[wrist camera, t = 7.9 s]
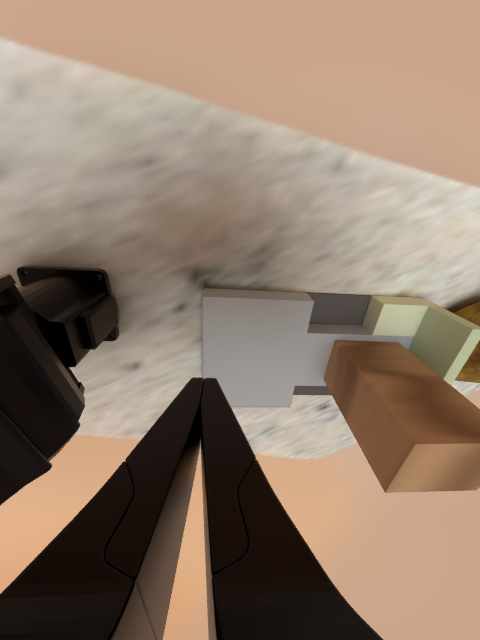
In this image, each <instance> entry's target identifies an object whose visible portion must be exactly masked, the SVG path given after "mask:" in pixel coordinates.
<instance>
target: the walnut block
mask: <svg viewBox="0 0 480 640" xmlns="http://www.w3.org/2000/svg"><path fill="white" fill-rule="evenodd" d="M323 380H324V381H325V383H326V385H327V387H328V389H329V391H330V393H331V394H332V396H333V398H334V400H335V402H336V404H337V405H338V407H339V409H340V411H341V413H342V415H343V416H344V418H345V420H346V422H347V424H348V426H349V427H350V429H351V431H352V433H353V435H354V437H355V438H356V440H357V442H358V444H359V446H360V447H361V449H362V451H363V453H364V455H365V457H366V459H367V460H368V462H369V464H370V466H371V468H372V469H373V471H374V473H375V475H376V477H377V479H378V481H379V482H380V484H381V486H382V488H383V490H384V491H385V493H389V492H427V491H464V490H477V489H478V488H479V487H480V409H479V408H477V407H476V406H475V405H474V404H473V403H471V402H470V401H469V400H468V399H467V398H465V397H464V396H463V395H462V394H460V393H459V392H458V391H457V390H456V389H454V388H453V387H452V386H451V385H450V384H448V383H447V382H446V381H445V380H444V379H442V378H441V377H440V376H439V375H437V374H436V373H435V372H434V371H433V370H431V369H430V368H429V367H428V366H427V365H425V364H424V363H423V362H422V361H421V360H419V359H418V358H417V357H416V356H414V355H413V354H412V353H411V352H410V351H408V350H407V349H406V348H405V347H404V346H402V345H401V344H400V343H399V342H381V341H347V340H335V341H334V345H333V348H332V351H331V355H330V358H329V361H328V365H327V368H326V372H325V375H324V378H323Z"/></svg>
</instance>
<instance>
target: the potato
mask: <svg viewBox="0 0 480 640" xmlns="http://www.w3.org/2000/svg"><path fill="white" fill-rule="evenodd" d="M454 314H456V315H458V316H460V317H462V318H464V319H466V320H468V321H470V322H472V323H474V324H476V325H478V326H480V302H478V303H475V304H472V305H469V306H467V307H464V308H462V309H460V310H458V311H456V312H454ZM455 380H457V381H465V382H475V383H480V340H479V342H478V343H477V345H476V347H475V348H474V350H473V351H472V353H471V355H470V356H469V358H468V359H467V361H466V363H465V364H464V366H463V368H462V369H461V371H460V372H459V374H458V376H457V377H456V379H455Z"/></svg>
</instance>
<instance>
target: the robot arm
mask: <svg viewBox="0 0 480 640" xmlns="http://www.w3.org/2000/svg"><path fill="white" fill-rule="evenodd" d="M24 271H26V272H27V273H28V275H27V274H25V272H24ZM17 274H18V277H19V280H20V282H21V285H22V287H21V288H19V289H17V288H16V286H15V285H14V284H15V283H16V282H15V281H14V279H13V278H12V276H11V275H10V274H7V275H2V276H0V505H1V504H2V503H4V502H5V501H6V500H7V499H9V498H10V497H11V496H12V495H14V494H15V493H16V492H18V491H19V490H20V489H21V488H23V487H24V486H25V485H27V484H28V483H30V482H32V481H33V480H35V479H36V478H38V477H39V476H41V475H43V474H44V473H46V472H47V471H49V470H50V468H51V467H52V464H51V463H50V462H49V460H51V459H52V458H53V457H54V456H55V455H56V454H57V453H59V451H60V450H61V449H62V448H63V447H64V446H65V445H66V444H67V443H68V442H69V440H70V439H71V438H72V437H73V436H74V434H75V433H76V432H77V430H78V429H79V427H80V423H79V421H78V420H79V418H80V416H81V414H82V411H83V409H84V407H85V400H84V396H83V393H84V389H85V388H84V386H83V385H82V383H81V382H78V380H77V379H76V377H75V376H74V374H73V373H72V371H71V370H70V368H69V367H75V366H76V365H77V364H78V363H79V362H80V361H81V360H82V359H83V357H84V356H85V355H86V354H87V353H88V352H89V351H90V350H95V349H96V348H97V347H98V346H99V345H100V344H101V343H102V341H115V340H116V339H117V338H118V336H119V333H118V328H117V324H118V317H117V312H116V306H115V301H114V297H113V296H112V295H111V292H110V287H109V282H108V277H107V274H106V272H105V271H103V270H100V269H82V268H62V267H41V266H22V267H19V268H18V269H17ZM98 274H100V275H101V276H102V279H101V278H99V277H98ZM110 334H112V335H114V337H113V336H111V335H110ZM200 444H201V462H202V487H203V511H204V535H205V556H206V557H205V559H206V581H207V607H208V630H209V640H383V639H382V638H381V637H380V636H379V635H378V634H377V633H376V632H375V631H374V630H373V629H372V628H371V627H370V626H369V625H368V624H367V623H366V622H365V621H364V620H363V619H362V618H361V617H360V616H359V615H358V614H357V613H356V612H355V610H354V609H353V608H352V607H351V606H350V605H349V604H348V603H347V601H346V600H345V599H344V597H343V596H342V595H341V594H340V592H339V591H338V590H337V588H336V587H335V586H334V584H333V583H332V581H331V580H330V579H329V577H328V576H327V574H326V573H325V571H324V570H323V568H322V567H321V565H320V564H319V562H318V560H317V559H316V558H315V556H314V554H313V553H312V551H311V550H310V548H309V547H308V545H307V543H306V542H305V541H304V539H303V538H302V536H301V534H300V533H299V531H298V530H297V528H296V527H295V525H294V523H293V522H292V520H291V519H290V517H289V516H288V514H287V513H286V511H285V509H284V508H283V506H282V504H281V503H280V501H279V499H278V498H277V496H276V495H275V493H274V491H273V489H272V488H271V486H270V484H269V482H268V480H267V478H266V476H265V475H264V473H263V471H262V469H261V467H260V465H259V463H258V461H257V460H256V457H255V455H254V453H253V451H252V449H251V447H250V445H249V443H248V441H247V439H246V437H245V435H244V433H243V431H242V429H241V427H240V425H239V423H238V421H237V419H236V417H235V415H234V413H233V411H232V409H231V407H230V405H229V403H228V401H227V399H226V397H225V395H224V393H223V391H222V389H221V387H220V385H219V382H218V380H217V379H216V378H205V379H204V378H191V379H190V381H189V382H188V383H187V384H186V386H185V387H184V388H183V389H182V391H181V392H180V393H179V394H178V395H177V397H176V398H175V399H174V400H173V402H172V403H171V404H170V405H169V406H168V408H167V409H166V410H165V411H164V413H163V414H162V415H161V416H160V417H159V419H158V420H157V421H156V422H155V424H154V425H153V426H152V427H151V429H150V430H149V431H148V432H147V433H146V435H145V436H144V437H143V438H142V440H141V441H140V442H139V443H138V444H137V446H136V447H135V448H134V449H133V451H132V452H131V453H130V454H129V456H128V457H127V458H126V462H125V461H124V462H123V463H122V464H121V465H120V466H119V468H118V469H117V470H116V471H115V473H114V474H113V475H112V476H111V477H110V479H109V480H108V481H107V482H106V483H105V484H104V486H103V487H102V488H101V489H100V490H99V491H98V493H97V494H96V495H95V496H94V497H93V498H92V499H91V500H90V501H89V502H88V504H87V505H86V506H85V507H84V508H83V509H82V510H81V511H80V512H79V513H78V514H77V516H75V517H74V519H73V520H72V521H71V522H70V523H69V524H68V525H67V526H66V527H65V528H64V529H63V530H62V531H61V532H60V533H59V534H58V535H57V536H56V537H55V538H54V539H53V540H52V541H51V542H50V544H48V546H47V547H46V548H45V549H44V550H43V551H42V552H41V553H40V554H39V555H38V556H37V557H36V558H35V559H34V560H33V561H32V562H31V563H30V564H29V565H28V566H27V567H26V568H25V569H24V570H23V571H22V573H21V574H20V575H19V576H18V577H17V578H16V579H15V580H14V581H13V582H12V583H11V584H10V585H9V586H8V587H7V588H6V589H5V590H4V591H3V592H2V593H1V594H0V640H162V639H163V634H164V629H165V624H166V619H167V614H168V609H169V604H170V598H171V594H172V588H173V583H174V578H175V573H176V568H177V563H178V558H179V553H180V547H181V542H182V537H183V532H184V527H185V522H186V517H187V511H188V507H189V502H190V496H191V491H192V486H193V480H194V476H195V471H196V466H197V461H198V456H199V450H200Z"/></svg>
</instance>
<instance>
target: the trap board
mask: <svg viewBox="0 0 480 640" xmlns="http://www.w3.org/2000/svg"><path fill="white" fill-rule="evenodd" d="M202 332H203V378H204V379H205V378H216V379H217V380H218V382H219V385H220V387H221V389H222V391H223V393H224V395H225V397H226V399H227V401H228V403H229V405H230V407H282V408H290V405H291V401H292V396H293V395H332V394H331V393H330V391H329V389H328V387H327V385H326V383H325V381H324V380H323V378H324V375H325V372H326V368H327V365H328V361H329V358H330V355H331V351H332V348H333V345H334V341H335V340H347V341H381V342H399V343H400V344H401V345H402V346H404V347H405V348H406V349H407V350H408V351H410V352H411V353H412V354H413V355H414V356H416V357H417V358H418V359H419V360H421V361H422V362H423V363H424V364H425V365H427V366H428V367H429V368H430V369H431V370H433V371H434V372H435V373H436V374H437V375H439V376H440V377H441V378H442V379H444V380H445V381H446V382H447V383H448V384H450V385H452V384H453V382H454V380H455V379H456V377H457V376H458V374H459V372H460V371H461V369H462V368H463V366H464V364H465V363H466V361H467V359H468V358H469V356H470V355H471V353H472V351H473V350H474V348H475V347H476V345H477V343H478V342H479V340H480V326H478V325H476V324H474V323H472V322H470V321H468V320H466V319H464V318H462V317H460V316H458V315H456V314H454V313H452V312H450V311H448V310H446V309H444V308H442V307H440V306H438V305H436V304H434V303H432V302H430V301H428V300H426V299H424V298H418V297H395V296H373V295H350V294H328V293H305V292H282V291H260V290H237V289H215V288H204V291H203V296H202Z"/></svg>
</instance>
